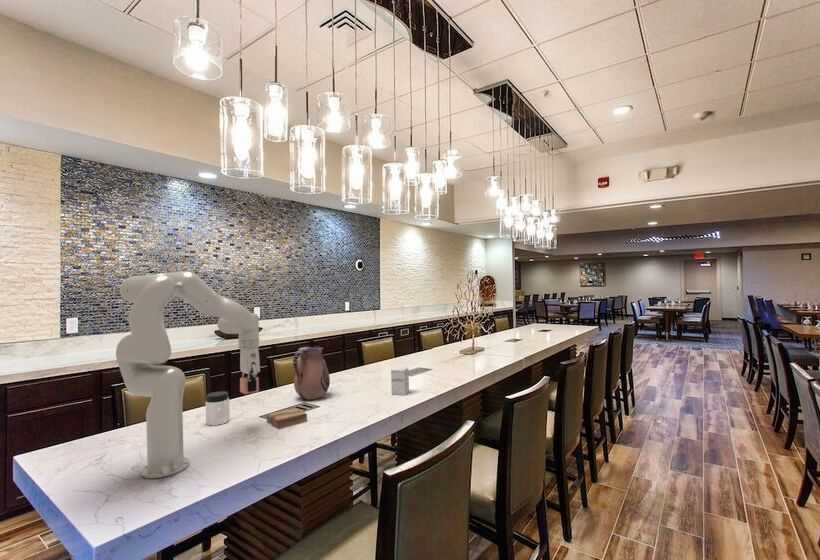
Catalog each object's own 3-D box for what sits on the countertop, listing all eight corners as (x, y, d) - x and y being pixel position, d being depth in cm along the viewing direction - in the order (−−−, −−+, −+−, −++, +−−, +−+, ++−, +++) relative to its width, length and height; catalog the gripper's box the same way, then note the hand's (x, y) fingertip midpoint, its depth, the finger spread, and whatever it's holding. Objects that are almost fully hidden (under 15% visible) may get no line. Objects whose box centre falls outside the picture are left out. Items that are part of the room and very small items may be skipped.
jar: (207, 427, 157) (206, 397, 157) (205, 422, 163) (204, 393, 164) (231, 422, 161) (230, 393, 162) (228, 417, 168) (227, 390, 169)
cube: (258, 391, 154) (258, 377, 155) (244, 394, 151) (244, 379, 151) (254, 389, 158) (253, 375, 159) (240, 391, 155) (239, 378, 155)
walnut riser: (307, 421, 160) (306, 413, 160) (278, 428, 152) (278, 420, 152) (294, 414, 169) (294, 407, 169) (267, 421, 161) (266, 414, 161)
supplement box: (391, 395, 195) (390, 369, 195) (396, 391, 202) (395, 366, 202) (405, 395, 192) (404, 370, 193) (409, 391, 200) (408, 367, 200)
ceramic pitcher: (336, 393, 202) (334, 345, 203) (315, 405, 182) (314, 351, 182) (306, 392, 207) (304, 345, 207) (283, 403, 186) (281, 351, 187)
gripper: (266, 344, 151) (266, 391, 151) (251, 342, 164) (251, 385, 164) (246, 346, 147) (246, 395, 146) (232, 343, 160) (232, 388, 159)
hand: (249, 389), depth 155 cm, fingers closed on cube, 5 cm apart
